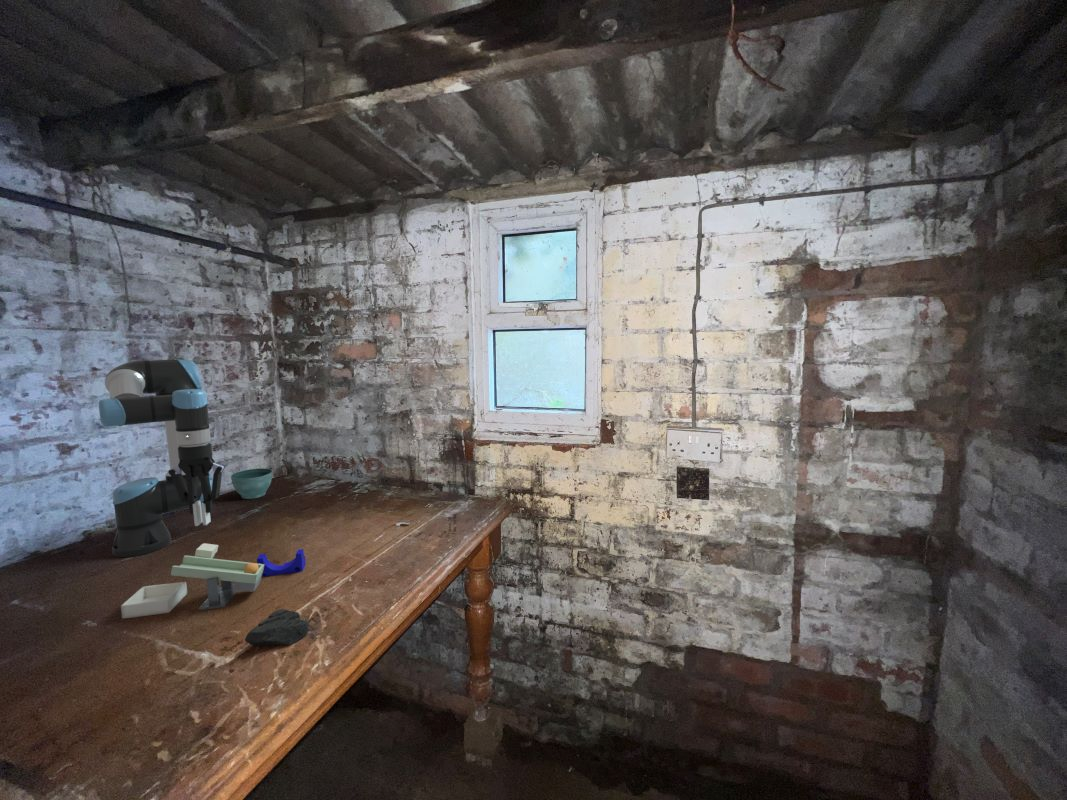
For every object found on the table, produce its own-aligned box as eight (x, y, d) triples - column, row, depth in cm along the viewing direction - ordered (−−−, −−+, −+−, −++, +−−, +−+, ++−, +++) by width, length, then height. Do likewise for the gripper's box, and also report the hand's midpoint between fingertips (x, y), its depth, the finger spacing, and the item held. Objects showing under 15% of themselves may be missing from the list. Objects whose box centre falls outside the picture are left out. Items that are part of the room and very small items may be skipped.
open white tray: (122, 618, 110) (120, 606, 110) (144, 598, 119) (143, 586, 119) (168, 612, 113) (167, 600, 112) (187, 593, 122) (186, 581, 121)
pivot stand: (198, 610, 114) (195, 583, 113) (218, 587, 124) (215, 563, 123) (224, 607, 115) (222, 580, 114) (241, 585, 126) (239, 560, 125)
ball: (239, 577, 119) (244, 565, 118) (244, 570, 122) (249, 559, 122) (253, 580, 119) (257, 568, 119) (258, 573, 123) (262, 562, 123)
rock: (314, 632, 107) (284, 615, 109) (313, 616, 104) (282, 599, 107) (276, 669, 97) (244, 650, 100) (274, 652, 95) (242, 633, 98)
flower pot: (281, 493, 202) (279, 471, 201) (243, 504, 189) (241, 480, 187) (263, 487, 211) (261, 466, 209) (226, 497, 197) (223, 474, 196)
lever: (168, 585, 113) (172, 566, 113) (195, 559, 127) (199, 542, 126) (252, 593, 119) (256, 575, 118) (270, 567, 132) (273, 551, 132)
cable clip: (305, 564, 138) (304, 546, 137) (302, 571, 133) (301, 553, 133) (263, 570, 134) (261, 552, 133) (258, 577, 130) (256, 559, 129)
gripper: (156, 448, 116) (166, 531, 119) (217, 445, 119) (225, 526, 122) (172, 442, 123) (180, 521, 126) (229, 439, 127) (236, 516, 130)
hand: (202, 523), depth 124 cm, fingers closed
